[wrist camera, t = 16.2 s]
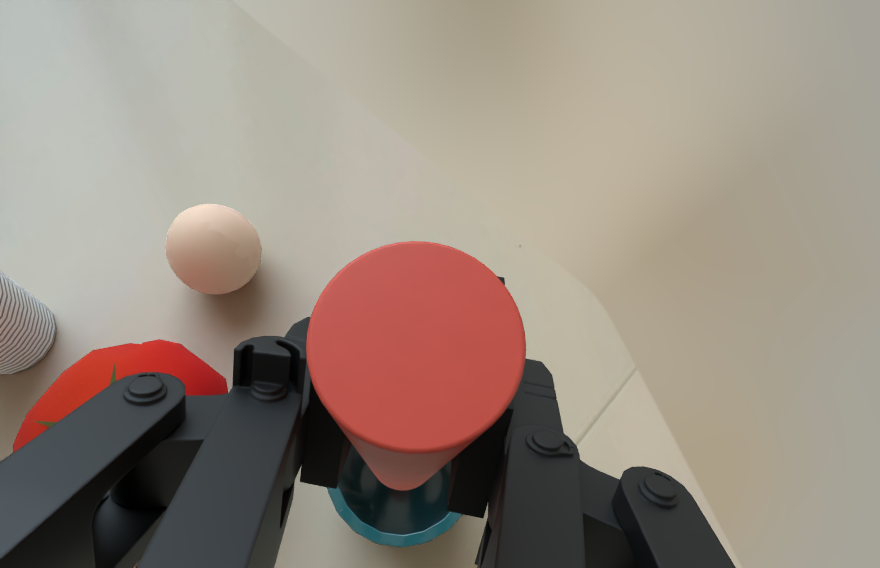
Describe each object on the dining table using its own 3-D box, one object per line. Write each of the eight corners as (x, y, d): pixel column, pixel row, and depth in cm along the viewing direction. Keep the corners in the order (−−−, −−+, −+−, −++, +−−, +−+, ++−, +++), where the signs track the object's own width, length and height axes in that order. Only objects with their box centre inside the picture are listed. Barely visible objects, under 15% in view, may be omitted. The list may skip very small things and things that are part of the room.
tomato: (195, 581, 37) (122, 607, 27) (34, 510, 38) (-93, 511, 28) (286, 396, 42) (252, 362, 32) (141, 337, 43) (65, 287, 33)
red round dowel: (447, 439, 20) (559, 293, 6) (418, 502, 19) (473, 496, 5) (389, 409, 20) (371, 207, 7) (357, 471, 20) (261, 389, 6)
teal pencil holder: (477, 445, 42) (502, 426, 32) (428, 558, 39) (438, 576, 29) (378, 396, 43) (371, 361, 32) (322, 502, 40) (295, 500, 29)
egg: (223, 219, 47) (191, 166, 40) (287, 258, 46) (265, 212, 39) (169, 280, 45) (124, 235, 38) (235, 322, 44) (201, 285, 37)
